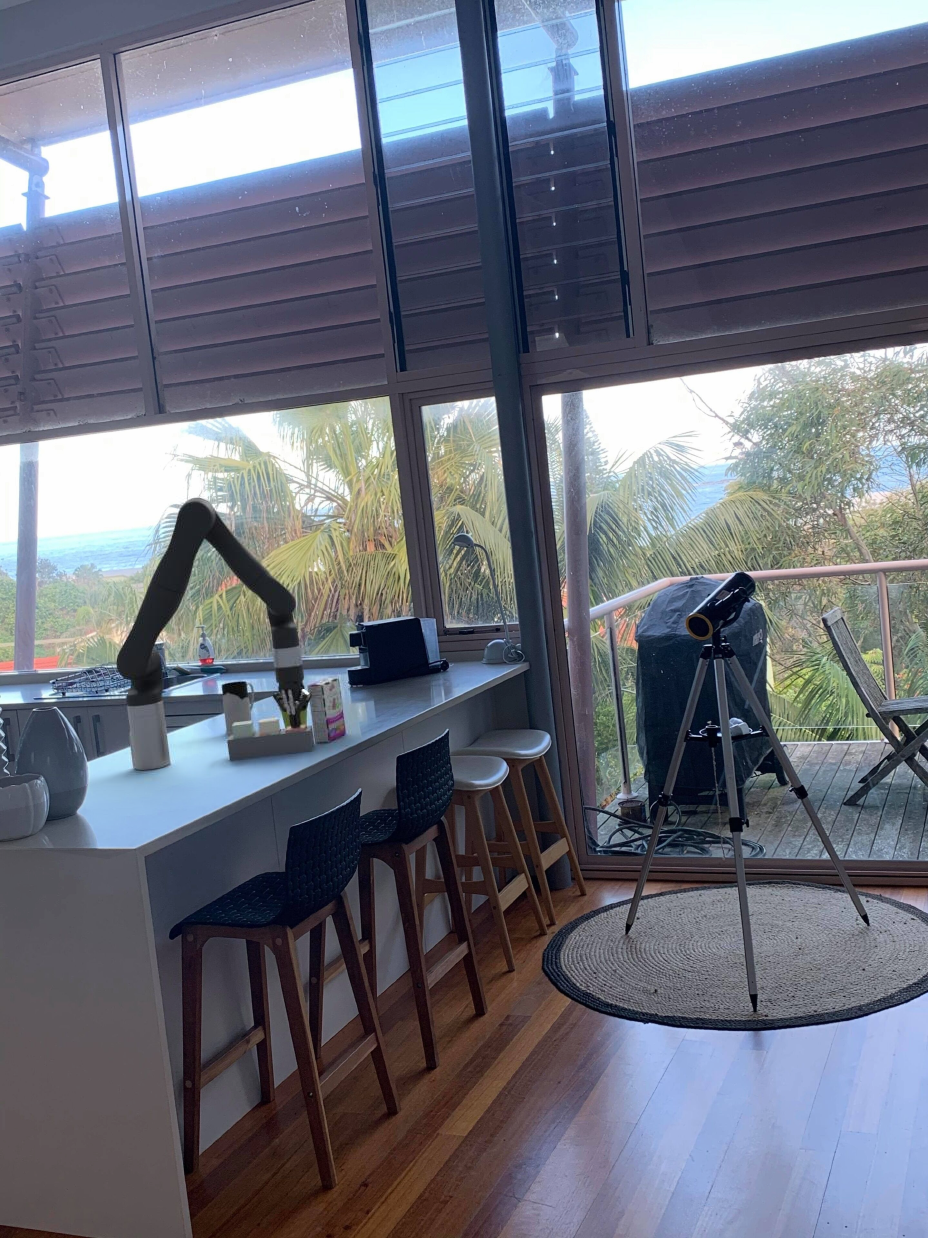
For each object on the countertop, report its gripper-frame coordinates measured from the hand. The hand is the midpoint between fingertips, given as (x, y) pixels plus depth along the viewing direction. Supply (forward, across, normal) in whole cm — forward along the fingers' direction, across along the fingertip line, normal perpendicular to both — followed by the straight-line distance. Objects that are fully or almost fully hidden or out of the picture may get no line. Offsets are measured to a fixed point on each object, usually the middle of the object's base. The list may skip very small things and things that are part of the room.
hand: (296, 727), depth 307 cm
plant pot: (+6, -22, +22) cm, 31 cm away
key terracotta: (+5, 0, 0) cm, 5 cm away
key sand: (+2, -5, -4) cm, 7 cm away
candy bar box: (+6, -1, +14) cm, 15 cm away
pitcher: (+6, -42, +20) cm, 48 cm away
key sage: (+2, -11, -9) cm, 14 cm away
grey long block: (+6, -6, -4) cm, 9 cm away
